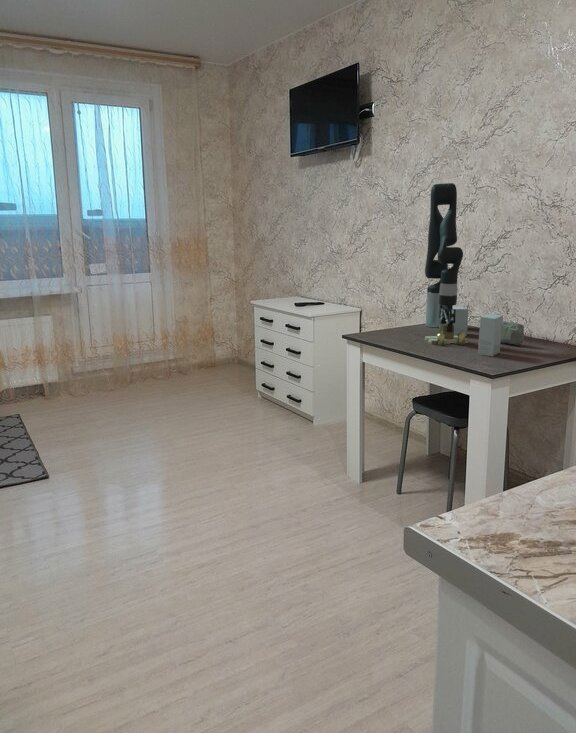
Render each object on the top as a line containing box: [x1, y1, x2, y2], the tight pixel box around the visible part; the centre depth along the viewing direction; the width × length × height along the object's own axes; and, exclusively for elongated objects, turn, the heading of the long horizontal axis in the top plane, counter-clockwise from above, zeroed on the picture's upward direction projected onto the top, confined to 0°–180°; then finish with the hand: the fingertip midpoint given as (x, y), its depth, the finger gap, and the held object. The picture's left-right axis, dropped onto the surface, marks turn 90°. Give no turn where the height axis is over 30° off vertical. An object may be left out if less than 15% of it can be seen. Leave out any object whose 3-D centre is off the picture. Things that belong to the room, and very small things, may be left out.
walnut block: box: [438, 323, 454, 339], centre depth 264 cm, size 5×5×6 cm
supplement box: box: [453, 306, 469, 337], centre depth 280 cm, size 7×7×13 cm
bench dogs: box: [436, 332, 466, 346], centre depth 258 cm, size 3×12×5 cm, turn 95°
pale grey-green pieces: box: [424, 335, 469, 345], centre depth 265 cm, size 10×16×2 cm, turn 94°
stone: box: [500, 320, 525, 346], centre depth 257 cm, size 14×6×10 cm, turn 30°
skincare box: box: [477, 313, 504, 357], centre depth 239 cm, size 8×7×16 cm
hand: (446, 330), depth 264 cm, fingers open, 8 cm apart
